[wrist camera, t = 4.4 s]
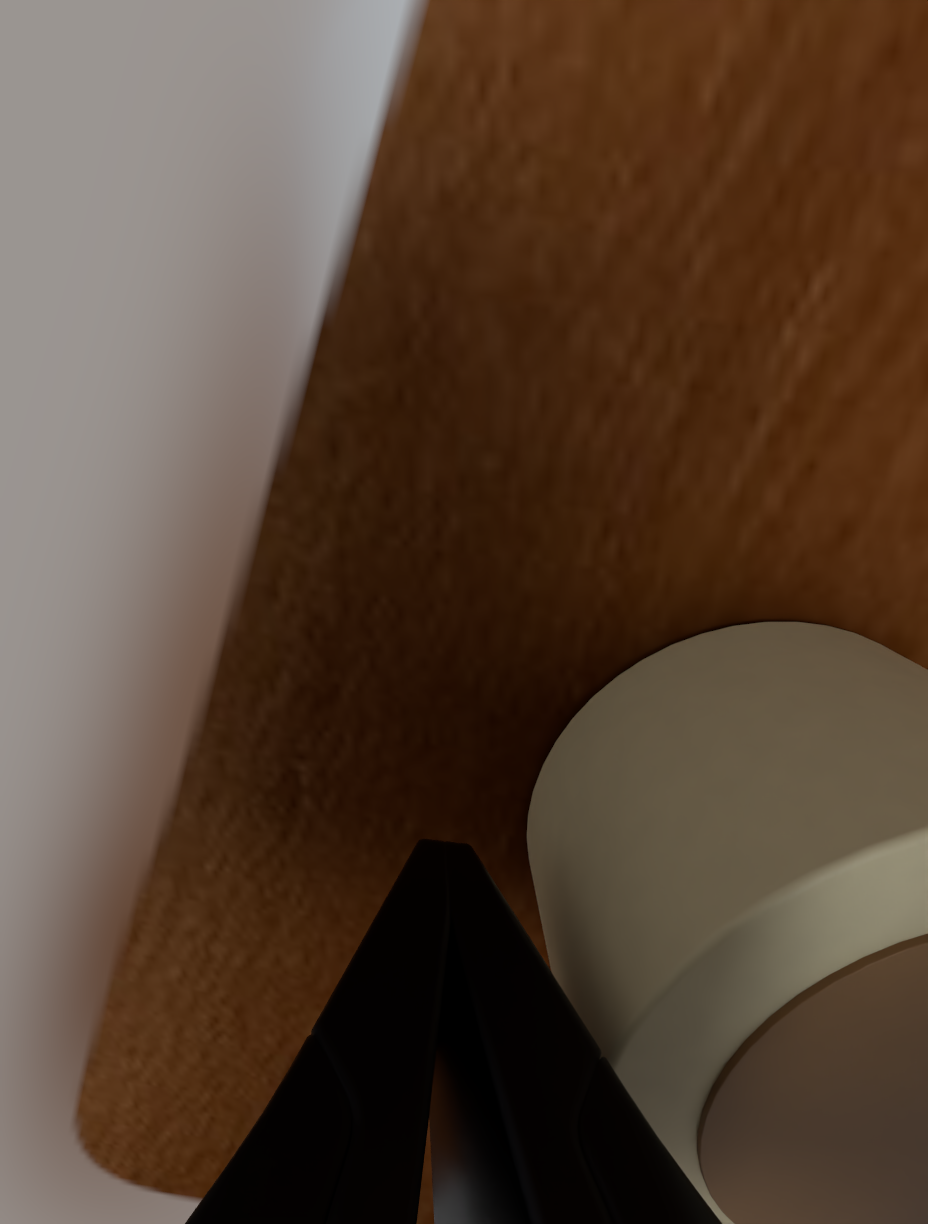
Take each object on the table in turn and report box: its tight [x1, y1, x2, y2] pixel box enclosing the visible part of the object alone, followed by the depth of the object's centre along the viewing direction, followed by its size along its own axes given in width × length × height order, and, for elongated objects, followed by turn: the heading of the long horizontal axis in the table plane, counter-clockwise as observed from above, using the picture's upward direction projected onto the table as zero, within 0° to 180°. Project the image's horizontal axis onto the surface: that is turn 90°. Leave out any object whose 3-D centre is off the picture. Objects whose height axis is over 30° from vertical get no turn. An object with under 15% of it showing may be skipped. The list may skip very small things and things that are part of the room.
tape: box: [527, 622, 928, 1224], centre depth 9 cm, size 8×8×5 cm
